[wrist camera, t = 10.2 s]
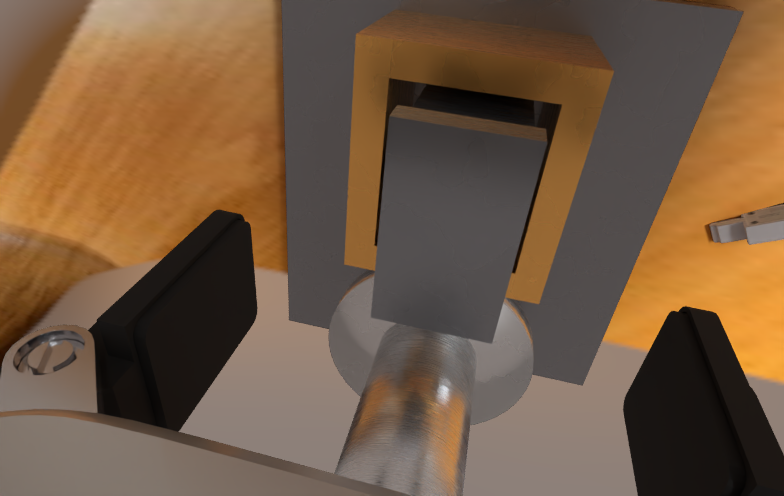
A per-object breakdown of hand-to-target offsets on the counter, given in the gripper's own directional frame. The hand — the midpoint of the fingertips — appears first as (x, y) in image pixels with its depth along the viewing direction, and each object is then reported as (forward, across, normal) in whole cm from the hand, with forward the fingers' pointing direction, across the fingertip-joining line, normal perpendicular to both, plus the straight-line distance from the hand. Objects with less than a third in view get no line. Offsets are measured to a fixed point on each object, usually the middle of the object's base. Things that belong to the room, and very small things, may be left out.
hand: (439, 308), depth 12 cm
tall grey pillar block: (+14, 0, +1) cm, 14 cm away
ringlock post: (+15, +1, +5) cm, 16 cm away
